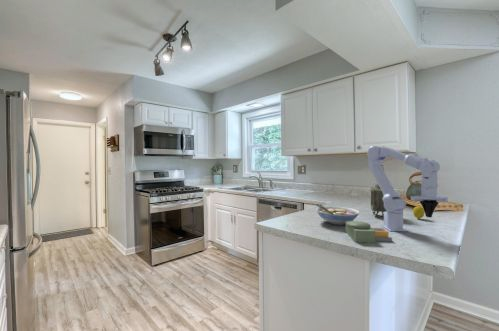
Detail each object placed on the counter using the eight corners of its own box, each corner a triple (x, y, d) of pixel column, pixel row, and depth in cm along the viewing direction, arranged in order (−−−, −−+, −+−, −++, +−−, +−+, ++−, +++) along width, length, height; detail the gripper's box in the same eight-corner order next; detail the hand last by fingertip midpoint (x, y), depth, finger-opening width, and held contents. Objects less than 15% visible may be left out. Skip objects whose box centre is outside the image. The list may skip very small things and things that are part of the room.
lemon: (419, 217, 147) (419, 204, 147) (426, 220, 142) (426, 206, 142) (410, 217, 147) (410, 204, 147) (417, 220, 142) (417, 206, 141)
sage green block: (342, 231, 118) (342, 219, 118) (380, 233, 116) (380, 220, 116) (351, 242, 103) (351, 228, 103) (395, 243, 101) (395, 229, 101)
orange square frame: (366, 236, 112) (366, 227, 112) (382, 236, 111) (382, 227, 111) (371, 240, 106) (371, 231, 106) (388, 240, 105) (388, 231, 105)
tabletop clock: (370, 213, 160) (371, 175, 160) (386, 214, 157) (386, 176, 156) (373, 218, 147) (373, 177, 146) (390, 219, 143) (390, 177, 143)
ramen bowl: (368, 229, 122) (368, 213, 121) (322, 229, 122) (322, 213, 122) (349, 218, 147) (349, 204, 146) (311, 217, 147) (311, 204, 147)
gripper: (417, 187, 106) (416, 218, 106) (453, 188, 104) (452, 219, 104) (408, 186, 113) (407, 214, 113) (441, 186, 111) (441, 215, 111)
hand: (428, 216), depth 109 cm, fingers closed
